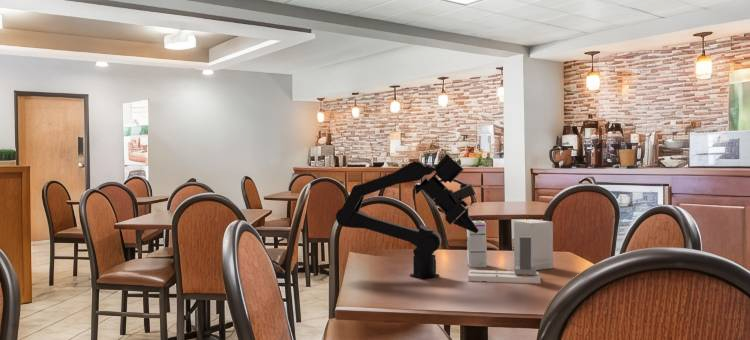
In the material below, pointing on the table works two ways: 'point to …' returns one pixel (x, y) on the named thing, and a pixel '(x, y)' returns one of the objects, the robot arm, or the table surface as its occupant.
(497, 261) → the table surface
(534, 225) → the supplement box
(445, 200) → the robot arm
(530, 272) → the fader
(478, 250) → the syrup box
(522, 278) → the fader base
